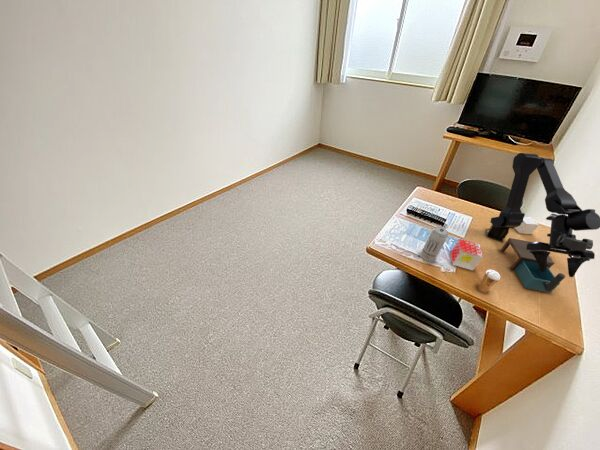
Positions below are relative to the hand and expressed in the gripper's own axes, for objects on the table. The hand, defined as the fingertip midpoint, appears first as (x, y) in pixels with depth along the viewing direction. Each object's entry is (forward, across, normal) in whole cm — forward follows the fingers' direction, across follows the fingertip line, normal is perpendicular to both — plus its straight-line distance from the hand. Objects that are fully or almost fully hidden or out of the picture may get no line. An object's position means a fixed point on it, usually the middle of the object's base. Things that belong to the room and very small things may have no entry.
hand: (557, 274), depth 97 cm
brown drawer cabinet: (-4, 0, +19) cm, 19 cm away
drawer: (+4, 0, +11) cm, 11 cm away
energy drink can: (+2, -40, +13) cm, 42 cm away
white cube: (-22, +12, +38) cm, 45 cm away
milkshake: (+10, -22, +5) cm, 25 cm away
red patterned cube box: (0, -26, +15) cm, 30 cm away
